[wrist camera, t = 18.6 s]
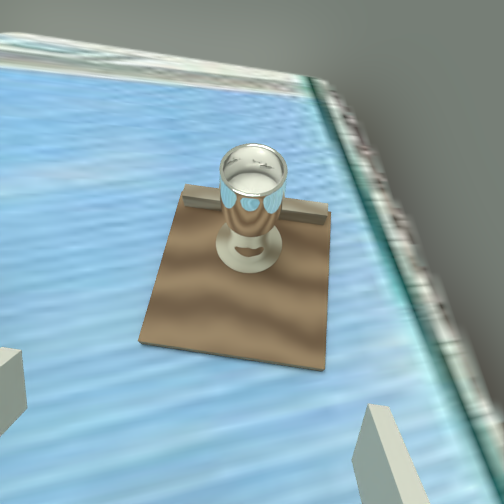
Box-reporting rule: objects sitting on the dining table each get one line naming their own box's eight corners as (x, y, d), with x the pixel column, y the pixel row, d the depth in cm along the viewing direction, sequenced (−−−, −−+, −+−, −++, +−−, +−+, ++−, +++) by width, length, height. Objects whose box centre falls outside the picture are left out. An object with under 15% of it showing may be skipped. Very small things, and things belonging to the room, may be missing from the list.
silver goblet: (225, 219, 47) (220, 139, 34) (275, 222, 47) (289, 143, 34) (221, 264, 44) (213, 195, 31) (274, 267, 44) (289, 200, 31)
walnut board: (321, 371, 40) (330, 366, 36) (141, 343, 41) (131, 336, 37) (328, 217, 50) (335, 201, 46) (183, 197, 51) (179, 180, 47)
